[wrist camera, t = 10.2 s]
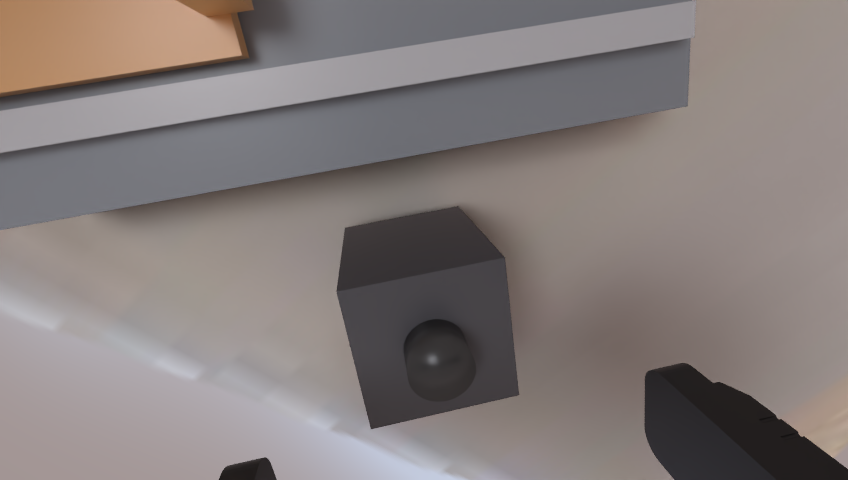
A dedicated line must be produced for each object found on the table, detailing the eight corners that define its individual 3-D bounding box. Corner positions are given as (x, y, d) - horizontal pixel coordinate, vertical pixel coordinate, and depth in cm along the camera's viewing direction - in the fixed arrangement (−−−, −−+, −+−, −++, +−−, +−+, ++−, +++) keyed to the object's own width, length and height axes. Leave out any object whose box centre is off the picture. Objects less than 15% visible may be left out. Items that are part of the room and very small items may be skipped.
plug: (345, 219, 18) (334, 313, 10) (452, 199, 18) (520, 274, 10) (367, 315, 19) (371, 461, 12) (465, 294, 20) (533, 423, 12)
